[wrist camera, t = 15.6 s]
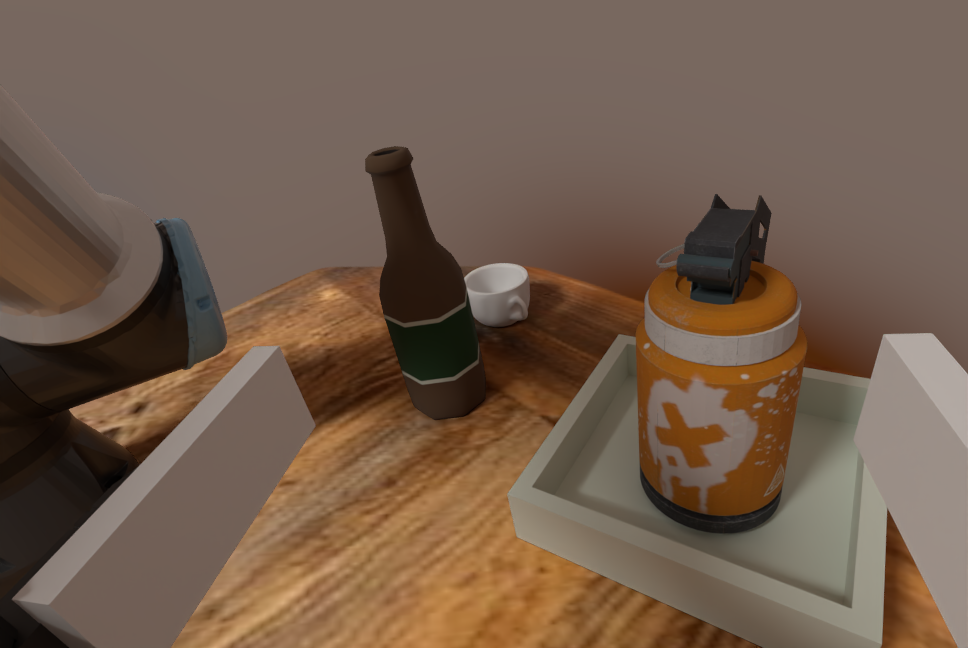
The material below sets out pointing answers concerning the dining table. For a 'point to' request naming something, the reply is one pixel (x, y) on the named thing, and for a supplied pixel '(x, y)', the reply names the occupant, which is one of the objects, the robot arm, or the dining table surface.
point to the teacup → (499, 294)
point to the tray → (711, 556)
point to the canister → (719, 376)
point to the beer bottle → (424, 297)
